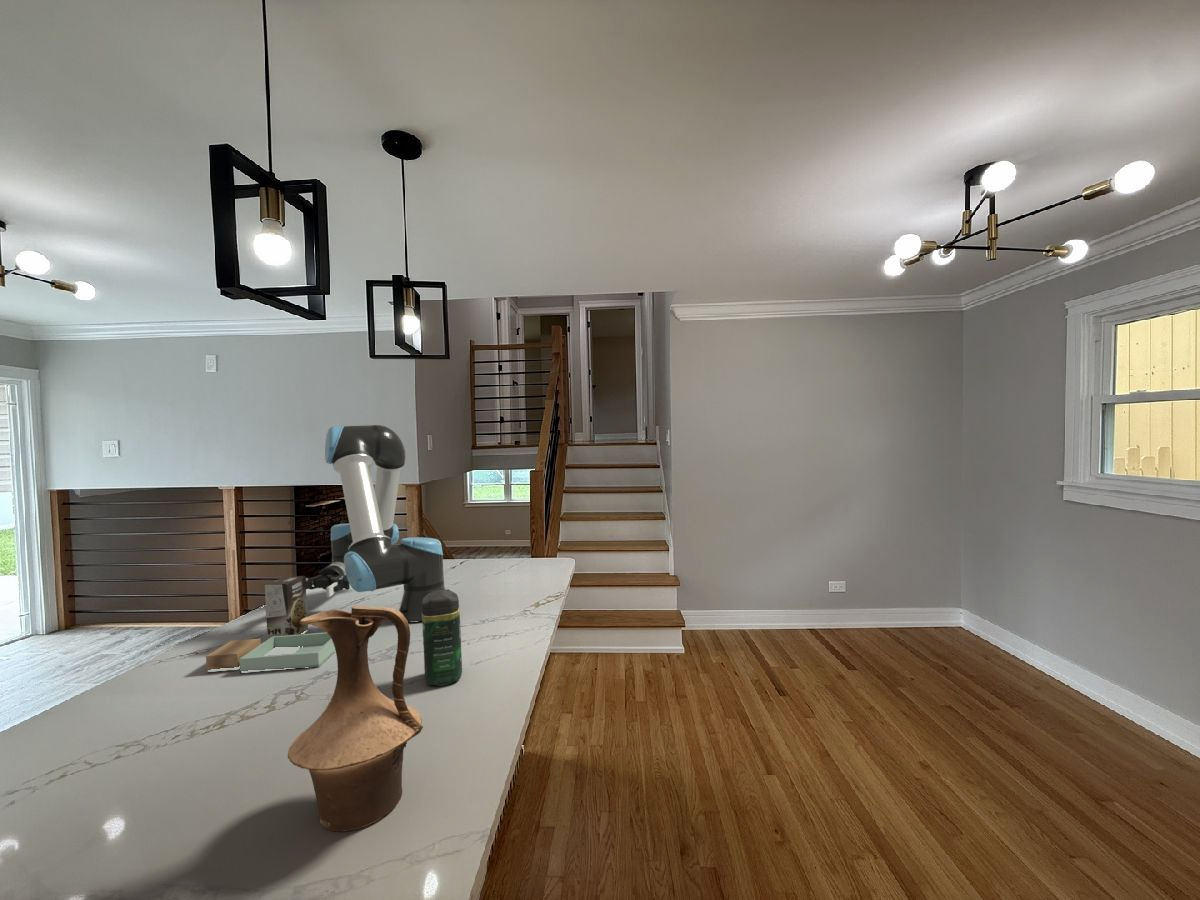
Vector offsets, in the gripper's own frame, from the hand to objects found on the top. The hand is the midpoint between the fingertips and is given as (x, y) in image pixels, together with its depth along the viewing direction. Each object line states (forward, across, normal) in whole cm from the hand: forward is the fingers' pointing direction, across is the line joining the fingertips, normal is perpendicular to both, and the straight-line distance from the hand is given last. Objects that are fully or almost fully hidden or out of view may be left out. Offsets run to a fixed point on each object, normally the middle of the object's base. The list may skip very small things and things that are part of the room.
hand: (303, 594), depth 157 cm
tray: (+26, -9, -9) cm, 29 cm away
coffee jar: (+45, -49, -9) cm, 67 cm away
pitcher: (+86, -46, -9) cm, 98 cm away
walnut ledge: (+26, +5, -9) cm, 28 cm away
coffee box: (+10, 0, -10) cm, 14 cm away
